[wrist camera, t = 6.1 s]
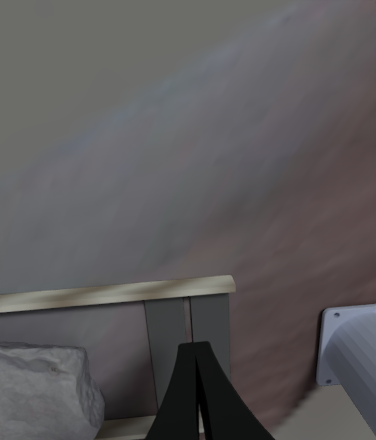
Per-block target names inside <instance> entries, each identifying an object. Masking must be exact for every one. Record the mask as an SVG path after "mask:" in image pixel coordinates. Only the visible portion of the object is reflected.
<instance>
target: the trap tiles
mask: <svg viewBox="0 0 376 440" xmlns="http://www.w3.org/2000/svg"><path fill="white" fill-rule="evenodd" d="M190 299H191V314H192V328H193V342H201V341H208V342H210V344H211V347H212V350H213V352H214V354H215V356H216V358H217V360H218V362H219V364H220V366H221V368H222V370H223V371H224V373H225V375H226V376H227V378H228V380H229V381H230V341H229V296H228V293H216V294H205V295H193V296H190ZM144 303H145V310H146V318H147V326H148V333H149V341H150V349H151V357H152V364H153V372H154V380H155V387H156V395H157V403H158V411H159V408H160V406H161V404H162V401H163V398H164V396H165V393H166V391H167V388H168V385H169V382H170V379H171V376H172V373H173V369H174V366H175V362H176V357H177V351H178V345H179V344H180V343H186V331H185V319H184V306H183V296H182V297H171V298H159V299H148V300H144ZM199 410H200V406H199Z"/></svg>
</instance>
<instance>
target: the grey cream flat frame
mask: <svg viewBox="0 0 376 440" xmlns="http://www.w3.org/2000/svg"><path fill="white" fill-rule="evenodd" d="M228 292H236V285H235V283H234V281H233V278H232V276H231V275H225V276H213V277H202V278H190V279H178V280H167V281H155V282H143V283H132V284H120V285H108V286H97V287H85V288H73V289H62V290H50V291H38V292H27V293H15V294H3V295H0V312H11V311H23V310H34V309H46V308H57V307H68V306H80V305H91V304H102V303H114V302H125V301H137V300H148V299H159V298H171V297H182V296H193V295H205V294H216V293H228ZM155 417H156V415H155V416H145V417H135V418H126V419H116V420H106V421H103V424H102V425H101V427H100V429H99V431H98V433H97V435H96V436H95V438H94V440H134V439H144V438H145V437H146V435H147V433H148V431H149V430H150V428H151V426H152V424H153V421H154V419H155ZM201 432H204V428H203V423H202V417H201V412H200V411H199V433H201Z"/></svg>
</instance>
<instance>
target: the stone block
mask: <svg viewBox="0 0 376 440" xmlns="http://www.w3.org/2000/svg"><path fill="white" fill-rule="evenodd" d="M104 413H105V401H104V398H103V396H102V394H101V392H100V389H99V388H98V386H97V385H96V383H95V381H94V380H93V378H91V376H90V373H89V360H88V357H87V354H86V351H85V349H84V348H81V347H75V346H56V345H36V344H28V343H25V342H0V440H94V438H95V436H96V435H97V433H98V431H99V429H100V427H101V425H102V424H103V421H104Z"/></svg>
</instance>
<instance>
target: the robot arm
mask: <svg viewBox="0 0 376 440" xmlns="http://www.w3.org/2000/svg"><path fill="white" fill-rule="evenodd" d="M335 313H337V314H335ZM334 314H335V315H334ZM316 382H317V383H318V385H320V386H328V385H338V384H341V385H342V386H343V388H344V389H345V391H346V392H347V394H348V395H349V397H350V398H351V400H352V401H353V403H354V404H355V406H356V407H357V409H358V410H359V412H360V413H361V415H362V416H363V418H364V419H365V421H366V422H367V424H368V425H369V427H370V428H371V430H372V431H373V433H374V434H375V436H376V304H370V305H359V306H348V307H337V308H328V309H325V310H324V311H323V314H322V323H321V334H320V344H319V354H318V364H317V374H316ZM199 406H200V412H201V417H202V423H203V428H204V433H205V439H206V440H275V439H274V438H273V437H272V436H271V434H270V433H269V432H268V431H267V430H266V429H265V428H264V427H263V426H262V424H261V423H260V422H259V421H258V420H257V419H256V417H255V416H254V415H253V414H252V412H251V411H250V410H249V409H248V407H247V406H246V405H245V403H244V402H243V401H242V399H241V398H240V396H239V395H238V393H237V392H236V390H235V389H234V388H233V386H232V384H231V383H230V381H229V380H228V378H227V376H226V375H225V373H224V371H223V370H222V368H221V366H220V364H219V362H218V360H217V358H216V356H215V354H214V352H213V350H212V347H211V344H210V342H208V341H201V342H191V343H180V344H179V345H178V351H177V357H176V362H175V366H174V369H173V373H172V376H171V379H170V382H169V385H168V388H167V391H166V393H165V396H164V398H163V401H162V404H161V406H160V408H159V411H158V413H157V415H156V417H155V419H154V421H153V424H152V426H151V428H150V430H149V431H148V433H147V435H146V437H145V439H144V440H199Z"/></svg>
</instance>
